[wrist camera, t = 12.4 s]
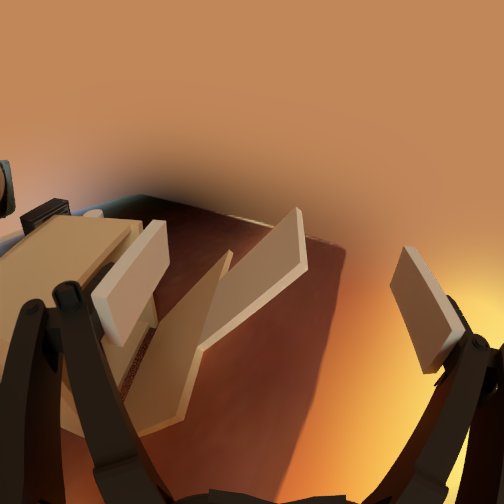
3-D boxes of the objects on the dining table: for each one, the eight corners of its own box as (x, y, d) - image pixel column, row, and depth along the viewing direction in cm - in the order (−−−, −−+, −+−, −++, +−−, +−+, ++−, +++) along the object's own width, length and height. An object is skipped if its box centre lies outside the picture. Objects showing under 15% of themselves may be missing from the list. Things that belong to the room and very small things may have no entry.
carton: (17, 403, 23) (-50, 307, 15) (81, 306, 40) (54, 214, 32) (104, 446, 22) (31, 353, 14) (158, 323, 39) (141, 220, 31)
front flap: (106, 443, 22) (303, 346, 10) (160, 321, 39) (294, 184, 27) (111, 446, 22) (314, 352, 11) (163, 323, 39) (298, 188, 27)
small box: (63, 237, 58) (54, 196, 53) (79, 243, 57) (70, 199, 51) (31, 259, 50) (18, 215, 44) (45, 267, 48) (31, 220, 43)
